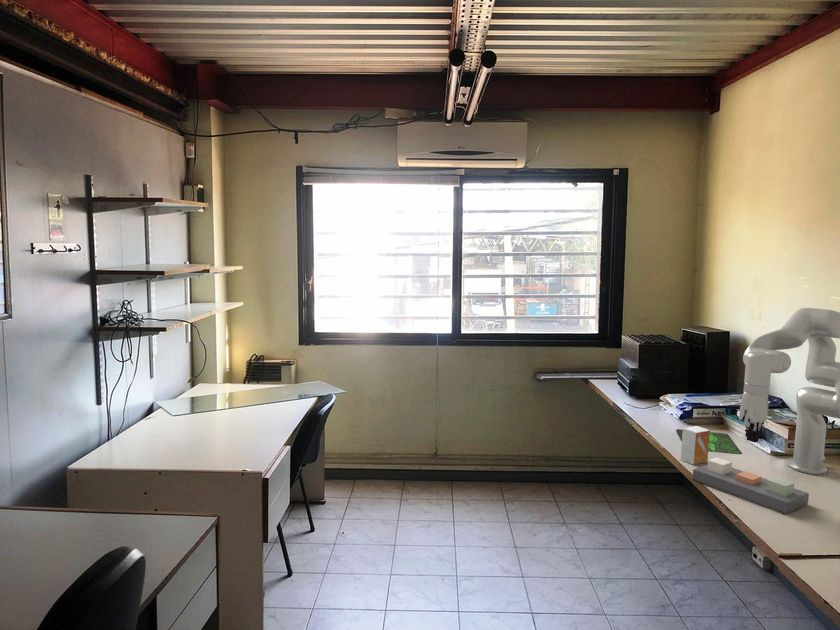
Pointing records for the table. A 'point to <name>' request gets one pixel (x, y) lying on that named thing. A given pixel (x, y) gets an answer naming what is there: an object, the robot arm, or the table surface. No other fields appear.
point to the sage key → (781, 486)
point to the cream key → (719, 466)
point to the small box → (695, 445)
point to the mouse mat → (718, 443)
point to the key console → (751, 490)
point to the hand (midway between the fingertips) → (752, 441)
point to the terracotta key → (748, 478)
